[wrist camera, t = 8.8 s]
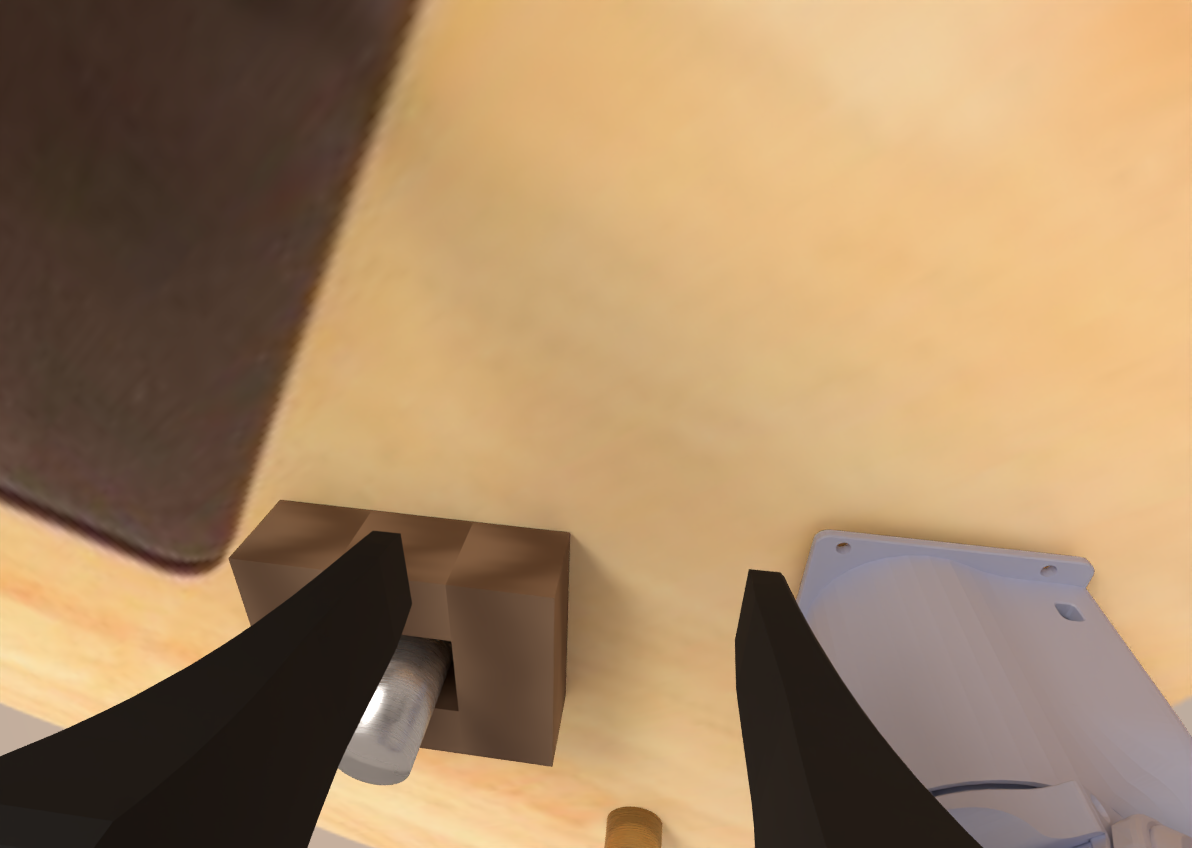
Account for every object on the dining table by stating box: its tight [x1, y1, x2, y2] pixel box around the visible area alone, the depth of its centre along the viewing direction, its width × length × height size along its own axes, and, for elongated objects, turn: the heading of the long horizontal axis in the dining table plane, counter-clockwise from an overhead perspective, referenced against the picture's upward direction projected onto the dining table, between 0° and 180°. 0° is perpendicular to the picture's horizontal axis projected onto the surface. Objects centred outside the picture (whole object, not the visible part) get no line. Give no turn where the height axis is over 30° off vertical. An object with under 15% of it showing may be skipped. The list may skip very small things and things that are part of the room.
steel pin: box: [338, 635, 453, 785], centre depth 26 cm, size 3×3×7 cm
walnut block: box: [229, 500, 570, 767], centre depth 27 cm, size 12×10×4 cm
